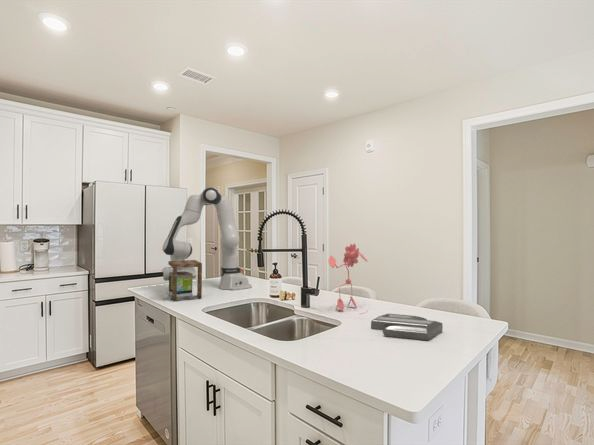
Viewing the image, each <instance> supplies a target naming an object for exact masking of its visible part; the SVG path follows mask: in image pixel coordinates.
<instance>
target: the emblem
mask: <svg viewBox="0 0 594 445" xmlns="http://www.w3.org/2000/svg"><path fill="white" fill-rule="evenodd" d="M370 328H371V330H377V331H382V334H383V336H385V337H389V338H398V339H399V338H401V339H402V338H403V339H412V340H420V341H421V340H422V341H429V340H432V339H433V338H435V337H437V336H439V335H440V334H441V333H443V329H444V328H443V322H441V321H437V320H430V319H429V320H428V319H427V318H425V317H421V316H416V315H410V314H409V315H408V314H407V315H406V314H398V313H397V314H396V313H386V314H382V315H378V316H377V317H376V318H373V319H372V320H371V321H370Z"/></svg>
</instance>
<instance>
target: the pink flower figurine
mask: <svg viewBox="0 0 594 445" xmlns="http://www.w3.org/2000/svg"><path fill="white" fill-rule="evenodd" d="M344 249H345V252H344V254H343V256H344V257H343V260H342V262H343V264H341V265H339V266H337V262H336V259H335V256H332V255H330V256H329V258H328V264H329V265H330V267H331V268H332V269H334V268H335V267H336V269H338V268H340V267H342V266H345V268H346V270H347V277H348V278H347V279H346V280H345V283H344V284H342V285H340V286H339V287H338V289H339V290H338V291H339V296H341V288H342V287H343V286H345V285H351V286H350V287H351V288H350V290H351V294H353V285H352V280H351V279H350V271H349V267H351V268H353V267H354V264H358V262H359V260H358V258H359V256H360V258H362V259H363V260H364V261H365V262H369V261H368V260H367V259H366V257H365V256H364V255H363V254H362V253H361V252H360V248H359V247H357V245H356V243H353V244H352V243H350V244H349V246H348V245H346V246H345V247H344ZM349 298H350V299H349V302H348V303H347V305H346V306H347V307H348V308H349V306H350V304H351V302H352V304H353V306H354V307H355V308H358V306H357V303H356V300H354V298H353V296H352V295H351V296H349ZM344 308H345V304H344V301H343V300H342V299H341V298H338V299H337V305H336V307H335V310H337V309H339V310H340V311H341V312H343V311H344ZM327 311H329V309H327ZM365 313H367V311H365V312H362V313H360V315H361V314H362V315H363V314H365Z"/></svg>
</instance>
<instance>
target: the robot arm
mask: <svg viewBox="0 0 594 445" xmlns="http://www.w3.org/2000/svg"><path fill="white" fill-rule="evenodd" d="M231 202H232V201H231V200H230V198H229V196H225V195H223V196H222V195H221V194H220V193H219V191H218V190H217V189H216V188H214V187H206V188H204V189H203V191H202V192H201V193H200V194H198V195H197V194H192V195H190V196H189V197H188V198H187V201H186V203H185V206H184V209H183V212H182V213H181V215H179V216H177V217H176V218H175V220H174V223H173V224H172V226H171V229H170V230H169V233H168V235H167V237H166V238H165V241H164V242H163V245H162V251H163V253H164V254H165V255H167V256H169V257H170V261H183V260H187V259H188V258H189V257H191V255H192V253H193V246H192V244H191V243H189V242H186V241H180V240H176V238H177V236H178V233H179V231H180V229H181V228H182V227H184V226H185V227H186V226H189V225H194V224H196V223H198V222H199V220H200V219H201V215H202V210H203V208H204V206H211V205H213V206H214V207H215V209H216V216H217V221H218V226H219V230H220V233H221V238H220V250H221V252H220V253H221V267H220V282H219V286H218V289H219V290H220V289H221V290H230V291H236V290H237V291H238V290H244V289H251V288H252V287H253V286H252V284H249V279H248V277H247V276H246V275H245V274H244V273H242V271H243V270H244V269H243V267H239V255H238V245H239V244H240V236H239V230H238V228H237V225H236V221H235V214H234V210H233V205H232V203H231ZM183 271H185V272H188V273H191V274H193V279H192V280H194V279H196V278H197V270H196V267H186V268H177V272H183ZM169 272H173V267H171V266H168V267H163V268H162V269H161V273H163V281H166V282H167V281H169Z"/></svg>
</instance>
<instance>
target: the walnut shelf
mask: <svg viewBox="0 0 594 445" xmlns="http://www.w3.org/2000/svg"><path fill="white" fill-rule="evenodd" d="M167 263H168V266H169V267H173V293H172V295H171V297H170V300H171V301H172V303H173V302H181V301H192V300H194V301H195V300H201V299H202V292H203V291H202V290H203V289H202V287H203V282H202V280H203V277H202V275H203V263H202V262H200V261H198V260H196V259H189V260H187V259H185V260H183V261H171V260H168V262H167ZM186 267H194V268H197V282H196V283H197V284H196V285H197V287H196V288H197V289H196V291H197V292H196V295H192V296H184V297H177V268H186Z"/></svg>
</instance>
